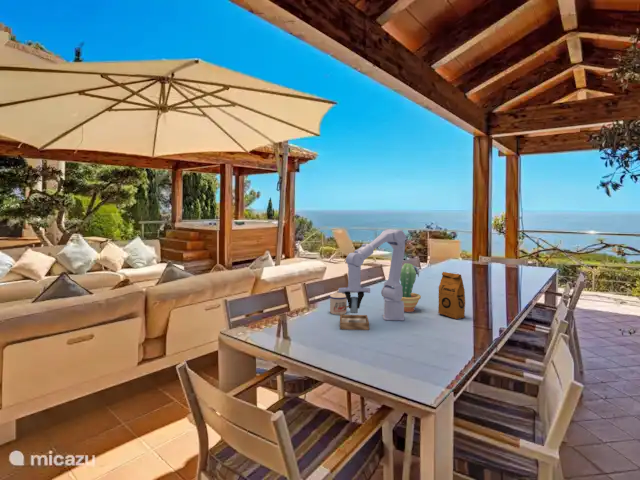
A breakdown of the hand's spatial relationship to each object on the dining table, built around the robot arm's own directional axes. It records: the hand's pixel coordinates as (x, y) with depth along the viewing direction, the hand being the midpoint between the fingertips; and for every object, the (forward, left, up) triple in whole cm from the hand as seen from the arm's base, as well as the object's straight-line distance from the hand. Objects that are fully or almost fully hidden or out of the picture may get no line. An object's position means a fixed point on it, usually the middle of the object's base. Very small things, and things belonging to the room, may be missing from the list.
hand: (354, 307), depth 171 cm
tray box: (0, 0, -8) cm, 8 cm away
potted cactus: (-29, -30, -8) cm, 42 cm away
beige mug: (+6, -22, -8) cm, 24 cm away
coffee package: (-50, -19, -8) cm, 54 cm away
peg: (0, 0, -2) cm, 2 cm away
